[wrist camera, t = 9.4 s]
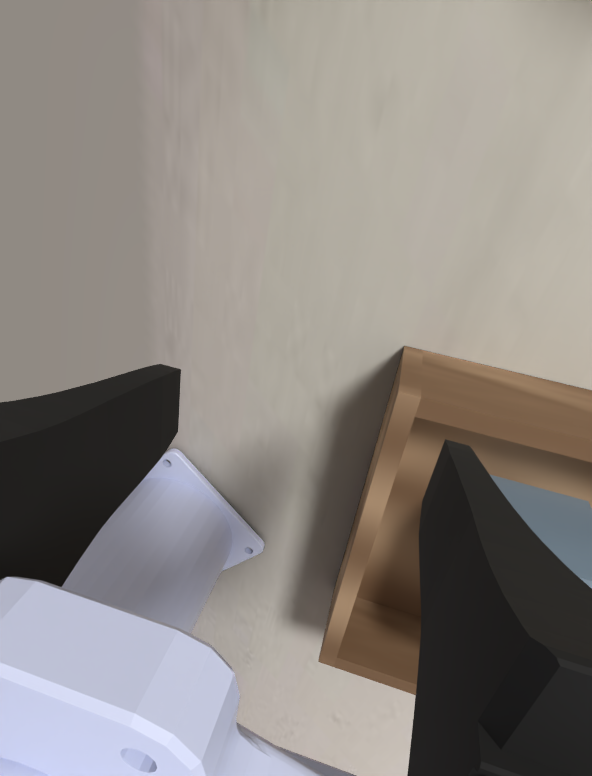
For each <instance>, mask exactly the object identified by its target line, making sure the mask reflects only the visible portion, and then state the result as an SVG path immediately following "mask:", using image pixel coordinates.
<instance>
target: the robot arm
mask: <svg viewBox="0 0 592 776" xmlns="http://www.w3.org/2000/svg"><path fill="white" fill-rule="evenodd" d="M180 374H181V369H177V368H173V367H169V366H166V365H162V364H158V365H153V366H149V367H145V368H142V369H138V370H135V371H131V372H128V373H125V374H121V375H118V376H115V377H111V378H108V379H105V380H101V381H98V382H95V383H91V384H87V385H84V386H80V387H76V388H72V389H68V390H65V391H61V392H57V393H52V394H48V395H43V396H38V397H33V398H27V399H22V400H16V401H9V402H2V403H0V776H356V775H353V774H350V773H348V772H345V771H342V770H340V769H337V768H334V767H332V766H329V765H326V764H324V763H321V762H318V761H316V760H313V759H310V758H308V757H305V756H302V755H299V754H297V753H294V752H291V751H289V750H286V749H283V748H281V747H278V746H275V745H274V744H272V743H270V742H269V741H267V740H265V739H264V738H262V737H260V736H259V735H257V734H255V733H254V732H252V731H250V730H249V729H247V728H245V727H244V726H242V725H240V724H239V723H237V722H236V716H237V711H238V705H239V699H240V695H239V691H238V686H237V682H236V678H235V674H234V672H233V670H232V668H231V666H230V665H229V664H228V663H227V662H226V661H225V660H224V659H223V658H222V656H221V655H220V654H219V653H218V652H217V651H216V650H215V649H214V648H213V647H212V646H211V645H210V644H209V643H207V642H205V641H203V640H201V639H199V638H197V637H195V636H194V635H192V634H191V632H192V630H193V628H194V626H195V624H196V622H197V620H198V618H199V616H200V614H201V611H202V609H203V607H204V605H205V603H206V601H207V599H208V597H209V595H210V593H211V591H212V589H213V587H214V585H215V583H216V581H217V579H218V577H219V575H220V573H221V572H222V571H224V570H226V569H228V568H230V567H232V566H234V565H237V564H239V563H241V562H243V561H245V560H247V559H249V558H252V557H254V556H256V555H258V554H260V553H262V552H263V549H264V547H265V543H264V542H263V540H262V539H261V538H260V537H259V536H258V535H257V534H256V533H255V532H254V530H253V529H252V528H251V527H250V526H249V525H248V524H247V523H246V522H245V521H244V520H243V518H242V517H241V516H240V515H239V514H238V513H237V512H236V511H235V510H234V509H233V508H232V507H231V505H230V504H229V503H228V502H227V501H226V500H225V499H224V498H223V497H222V496H221V495H220V494H219V492H218V491H217V490H216V489H215V488H214V487H213V486H212V485H211V484H210V483H209V482H208V480H207V479H206V478H205V477H204V476H203V475H202V474H201V473H200V472H199V471H198V470H197V469H196V467H195V466H194V465H193V464H192V463H191V462H190V461H189V460H188V459H187V458H186V457H185V456H184V454H183V453H182V452H181V451H179V450H178V449H170V450H168V451H167V452H165V451H166V450H167V448H168V447H169V445H170V444H171V442H172V440H173V439H174V437H175V435H176V434H177V432H178V419H179V397H180ZM167 460H169V461H170V462H171V463H169V462H167ZM248 547H249V548H251V549H249V548H248ZM419 568H420V597H421V637H420V650H419V664H418V676H417V687H416V699H415V710H414V720H413V730H412V739H411V749H410V758H409V768H408V776H592V588H590V587H589V586H588V585H587V584H586V583H585V582H584V581H582V580H581V579H580V578H579V577H578V576H577V575H576V574H575V573H573V572H572V571H571V570H570V569H569V568H568V567H567V566H566V565H565V564H564V563H563V562H562V561H561V560H560V559H559V558H558V557H557V556H556V555H555V554H554V553H553V552H552V551H551V550H550V549H549V548H548V547H547V546H546V545H545V544H544V543H543V542H542V541H541V540H540V538H539V537H538V536H537V535H536V534H535V533H534V532H533V531H532V529H531V528H530V527H529V526H528V525H527V523H526V522H525V521H524V520H523V519H522V517H521V516H520V515H519V514H518V513H517V511H516V510H515V509H514V508H513V506H512V505H511V504H510V502H509V501H508V500H507V498H506V497H505V496H504V494H503V493H502V492H501V490H500V489H499V488H498V486H497V485H496V483H495V482H494V480H493V479H492V478H491V476H490V475H489V473H488V472H487V470H486V469H485V467H484V466H483V464H482V463H481V461H480V460H479V458H478V457H477V455H476V454H475V452H474V451H473V450H472V448H471V447H470V446H469V445H465V444H461V443H458V442H454V441H450V440H446V439H445V441H444V443H443V446H442V449H441V452H440V454H439V457H438V460H437V462H436V465H435V468H434V470H433V473H432V476H431V478H430V481H429V484H428V487H427V489H426V492H425V495H424V497H423V500H422V507H421V516H420V526H419Z"/></svg>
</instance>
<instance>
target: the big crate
mask: <svg viewBox="0 0 592 776" xmlns="http://www.w3.org/2000/svg"><path fill="white" fill-rule="evenodd" d="M445 439H446V440H450V441H454V442H458V443H461V444H465V445H469V446H470V447H471V448H472V450H473V451H474V452H475V454H476V455H477V457H478V458H479V460H480V461H481V463H482V464H483V466H484V467H485V469H486V470H487V472H488V473H489V474H490V475H494V476H497V477H501V478H505V479H508V480H512V481H516V482H520V483H523V484H527V485H531V486H534V487H538V488H542V489H545V490H549V491H553V492H556V493H560V494H564V495H567V496H571V497H575V498H578V499H582V500H586V501H589V504H590V506H591V508H592V391H591V390H587V389H583V388H579V387H574V386H570V385H566V384H562V383H558V382H553V381H549V380H545V379H541V378H537V377H533V376H528V375H524V374H520V373H516V372H512V371H507V370H503V369H499V368H495V367H491V366H486V365H482V364H478V363H474V362H470V361H466V360H461V359H457V358H453V357H449V356H445V355H440V354H436V353H432V352H428V351H424V350H419V349H415V348H411V347H407V346H404V349H403V353H402V356H401V359H400V363H399V366H398V370H397V373H396V377H395V380H394V384H393V387H392V391H391V394H390V398H389V401H388V404H387V408H386V411H385V415H384V418H383V422H382V425H381V429H380V432H379V436H378V439H377V443H376V446H375V450H374V453H373V456H372V460H371V463H370V467H369V470H368V474H367V477H366V481H365V484H364V488H363V491H362V495H361V498H360V502H359V505H358V508H357V512H356V515H355V519H354V522H353V526H352V529H351V533H350V536H349V540H348V543H347V547H346V550H345V554H344V557H343V560H342V564H341V567H340V571H339V574H338V578H337V581H336V585H335V588H334V592H333V596H332V601H331V606H330V610H329V615H328V619H327V624H326V629H325V633H324V638H323V643H322V647H321V652H320V656H319V661H318V662H321V663H324V664H327V665H330V666H332V667H335V668H338V669H341V670H344V671H347V672H350V673H353V674H356V675H359V676H362V677H365V678H367V679H370V680H373V681H376V682H379V683H382V684H385V685H388V686H391V687H394V688H397V689H400V690H402V691H405V692H408V693H411V694H414V695H416V687H417V676H418V664H419V650H420V637H421V597H420V568H419V526H420V516H421V507H422V500H423V497H424V495H425V492H426V489H427V487H428V484H429V481H430V478H431V476H432V473H433V470H434V468H435V465H436V462H437V460H438V457H439V454H440V452H441V449H442V446H443V443H444V441H445Z"/></svg>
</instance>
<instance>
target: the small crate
mask: <svg viewBox="0 0 592 776" xmlns="http://www.w3.org/2000/svg"><path fill="white" fill-rule="evenodd" d="M489 475H490V474H489ZM490 476H491V478H492V479H493V480H494V482H495V483H496V485H497V486H498V488H499V489H500V490H501V492H502V493H503V494H504V496H505V497H506V498H507V500H508V501H509V502H510V504H511V505H512V506H513V508H514V509H515V510H516V511H517V513H518V514H519V515H520V516H521V517H522V519H523V520H524V521H525V522H526V523H527V525H528V526H529V527H530V528H531V529H532V531H533V532H534V533H535V534H536V535H537V536H538V537H539V538H540V540H541V541H542V542H543V543H544V544H545V545H546V546H547V547H548V548H549V549H550V550H551V551H552V552H553V553H554V554H555V555H556V556H557V557H558V558H559V559H560V560H561V561H562V562H563V563H564V564H565V565H566V566H567V567H568V568H569V569H570V570H571V571H572V572H573V573H575V574H576V575H577V576H578V577H579V578H580V579H581V580H582V581H584V582H585V583H586V584H587V585H588V586H589V587H590V588H592V508H591V506H590V504H589V501H586V500H582V499H578V498H575V497H571V496H567V495H564V494H560V493H556V492H553V491H549V490H545V489H542V488H538V487H534V486H531V485H527V484H523V483H520V482H516V481H512V480H508V479H505V478H501V477H497V476H494V475H490Z"/></svg>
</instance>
